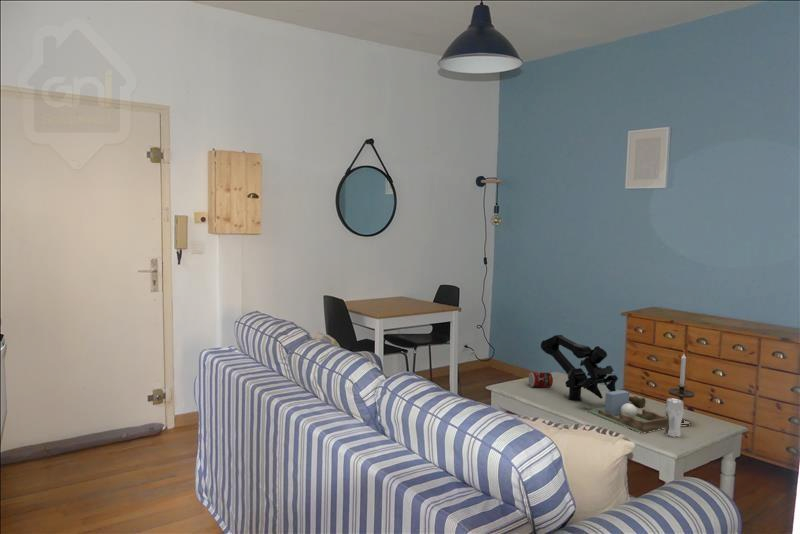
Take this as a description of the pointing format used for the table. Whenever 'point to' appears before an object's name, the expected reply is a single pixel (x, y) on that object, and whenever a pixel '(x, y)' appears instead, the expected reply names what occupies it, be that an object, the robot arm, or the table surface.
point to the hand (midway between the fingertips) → (608, 397)
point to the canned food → (540, 379)
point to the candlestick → (682, 385)
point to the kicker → (615, 401)
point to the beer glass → (673, 416)
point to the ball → (629, 409)
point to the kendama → (636, 400)
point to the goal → (635, 420)
